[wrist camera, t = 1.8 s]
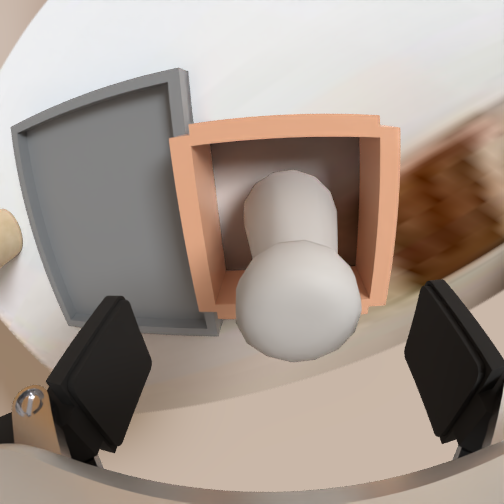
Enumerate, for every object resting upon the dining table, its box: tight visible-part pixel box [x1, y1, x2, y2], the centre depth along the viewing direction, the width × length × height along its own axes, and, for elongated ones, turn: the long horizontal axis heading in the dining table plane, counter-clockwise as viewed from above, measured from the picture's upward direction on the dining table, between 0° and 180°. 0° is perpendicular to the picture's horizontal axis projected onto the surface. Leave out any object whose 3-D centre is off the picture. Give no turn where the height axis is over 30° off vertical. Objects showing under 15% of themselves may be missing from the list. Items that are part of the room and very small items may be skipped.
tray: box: [11, 68, 222, 336], centre depth 21 cm, size 16×20×2 cm
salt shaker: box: [236, 170, 362, 362], centre depth 15 cm, size 6×6×13 cm
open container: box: [169, 114, 400, 319], centre depth 19 cm, size 12×12×4 cm
